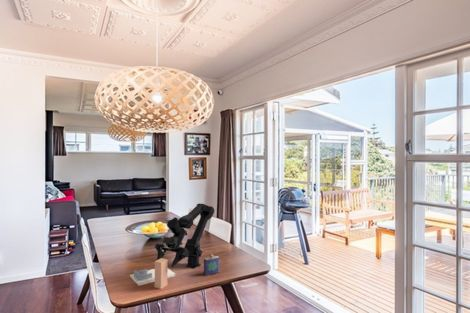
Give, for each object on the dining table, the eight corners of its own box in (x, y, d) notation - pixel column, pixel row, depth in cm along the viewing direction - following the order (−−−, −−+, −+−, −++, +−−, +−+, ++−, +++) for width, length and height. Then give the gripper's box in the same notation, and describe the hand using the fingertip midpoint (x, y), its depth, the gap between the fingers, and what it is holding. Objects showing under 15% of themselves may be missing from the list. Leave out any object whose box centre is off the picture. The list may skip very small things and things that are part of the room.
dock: (164, 268, 169) (165, 260, 169) (175, 275, 159) (175, 268, 159) (130, 276, 157) (130, 269, 157) (138, 285, 147) (138, 277, 147)
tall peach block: (161, 283, 150) (161, 258, 150) (167, 284, 148) (167, 259, 148) (154, 287, 145) (154, 261, 145) (161, 289, 144) (161, 262, 143)
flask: (217, 271, 166) (218, 252, 166) (220, 273, 164) (220, 253, 163) (203, 274, 161) (203, 255, 161) (205, 276, 159) (205, 256, 159)
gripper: (157, 228, 157) (142, 254, 147) (186, 232, 150) (172, 261, 140) (166, 238, 165) (152, 265, 155) (194, 243, 157) (182, 271, 147)
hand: (164, 265), depth 149 cm, fingers open, 9 cm apart
